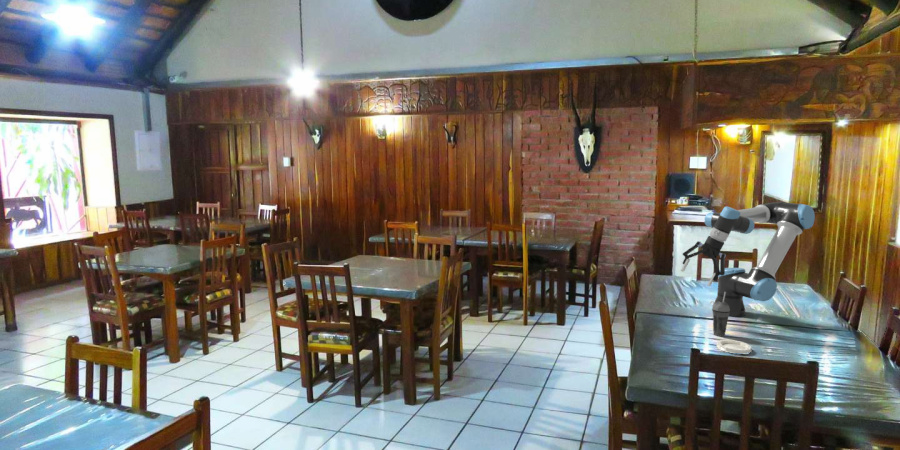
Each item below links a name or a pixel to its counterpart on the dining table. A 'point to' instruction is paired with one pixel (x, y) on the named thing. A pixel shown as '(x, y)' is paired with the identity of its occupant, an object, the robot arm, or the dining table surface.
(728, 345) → the plate
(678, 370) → the dining table surface
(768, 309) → the dining table surface
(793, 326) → the dining table surface
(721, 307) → the beverage cup
